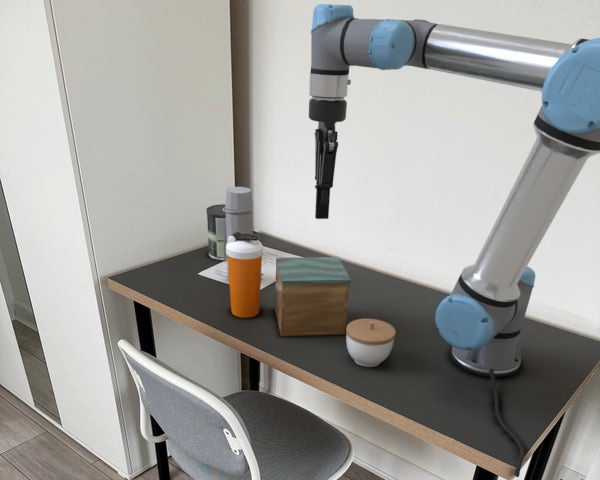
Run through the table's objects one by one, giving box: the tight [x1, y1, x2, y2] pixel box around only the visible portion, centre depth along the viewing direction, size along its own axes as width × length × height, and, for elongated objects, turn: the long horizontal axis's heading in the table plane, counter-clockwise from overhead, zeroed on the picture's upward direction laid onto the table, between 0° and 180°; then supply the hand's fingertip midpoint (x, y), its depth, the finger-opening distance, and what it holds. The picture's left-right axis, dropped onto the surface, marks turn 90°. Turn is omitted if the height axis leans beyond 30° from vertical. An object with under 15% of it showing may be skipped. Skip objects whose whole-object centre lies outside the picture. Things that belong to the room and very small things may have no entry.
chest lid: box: [275, 256, 352, 284], centre depth 138 cm, size 15×16×1 cm
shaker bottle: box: [226, 231, 264, 319], centre depth 144 cm, size 9×9×20 cm
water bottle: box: [223, 186, 254, 281], centre depth 160 cm, size 9×8×25 cm
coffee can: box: [205, 203, 227, 261], centre depth 179 cm, size 10×10×14 cm
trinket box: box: [345, 318, 397, 368], centre depth 129 cm, size 11×11×9 cm
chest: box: [274, 261, 351, 337], centre depth 143 cm, size 14×16×13 cm
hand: (321, 217), depth 129 cm, fingers closed
